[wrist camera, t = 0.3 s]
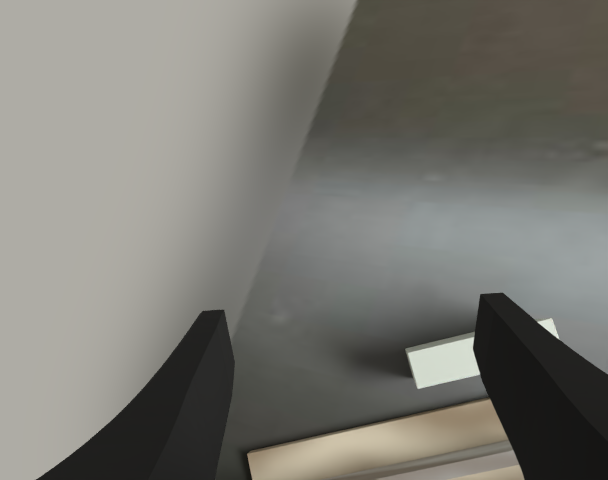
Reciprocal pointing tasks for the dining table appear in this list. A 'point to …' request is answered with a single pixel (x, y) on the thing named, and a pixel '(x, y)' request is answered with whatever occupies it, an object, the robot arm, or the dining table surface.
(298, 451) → the door track base
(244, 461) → the dining table surface
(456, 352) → the door panel
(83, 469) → the robot arm
